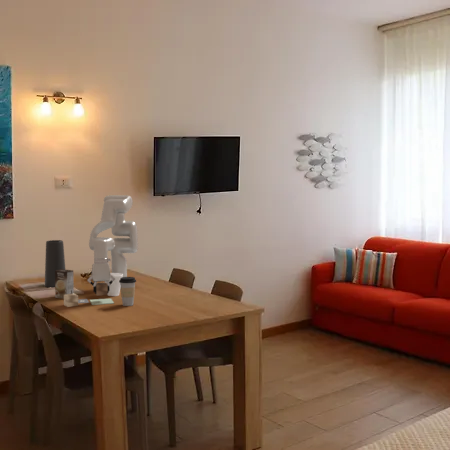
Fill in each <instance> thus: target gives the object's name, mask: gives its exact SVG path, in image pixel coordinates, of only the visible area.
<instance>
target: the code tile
mask: <svg viewBox="0 0 450 450" xmlns="http://www.w3.org/2000/svg"><path fill="white" fill-rule="evenodd" d="M88 303H90V301H89V300H88V298H81V299H80V298H78V304H88Z"/></svg>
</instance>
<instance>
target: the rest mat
mask: <svg viewBox="0 0 450 450" xmlns="http://www.w3.org/2000/svg"><path fill="white" fill-rule="evenodd" d="M89 303H90V304H91V305H92V306H98V305H99V306H100V305H112V304H115V301H113V298H98V299H89Z"/></svg>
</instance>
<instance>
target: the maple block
mask: <svg viewBox="0 0 450 450" xmlns="http://www.w3.org/2000/svg"><path fill="white" fill-rule="evenodd" d="M78 300H79V295H78V294H76V293H74V294H65V295H64V299H63V305H64V306H65V307H66V308H70V307H79V303H78Z"/></svg>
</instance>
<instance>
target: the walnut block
mask: <svg viewBox="0 0 450 450" xmlns="http://www.w3.org/2000/svg"><path fill="white" fill-rule="evenodd" d="M95 296H108V284H107V283H105V282H97V283H96V294H95Z"/></svg>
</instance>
